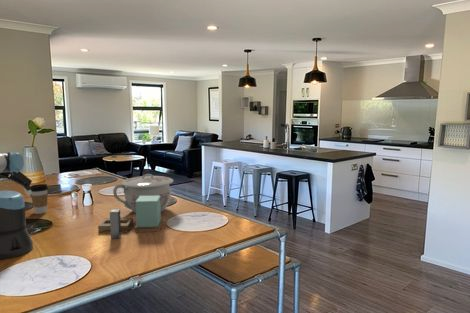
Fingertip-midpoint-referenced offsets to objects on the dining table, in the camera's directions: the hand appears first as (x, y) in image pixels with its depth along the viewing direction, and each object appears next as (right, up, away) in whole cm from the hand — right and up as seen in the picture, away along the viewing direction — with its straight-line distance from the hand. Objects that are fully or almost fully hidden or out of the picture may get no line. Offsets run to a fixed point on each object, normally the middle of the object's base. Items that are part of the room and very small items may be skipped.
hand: (14, 194), depth 156 cm
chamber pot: (+55, -12, +27) cm, 63 cm away
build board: (+47, -16, +1) cm, 50 cm away
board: (+62, -16, +2) cm, 64 cm away
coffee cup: (-2, -13, +24) cm, 27 cm away
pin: (+51, -17, -11) cm, 55 cm away
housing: (+62, -14, +2) cm, 64 cm away
